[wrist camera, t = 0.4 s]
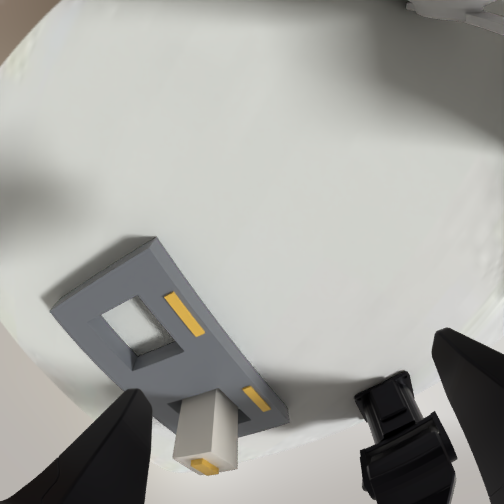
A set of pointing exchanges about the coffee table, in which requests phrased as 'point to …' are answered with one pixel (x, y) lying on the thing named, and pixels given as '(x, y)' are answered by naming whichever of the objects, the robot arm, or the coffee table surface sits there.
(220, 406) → the plug
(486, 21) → the headphones
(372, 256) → the coffee table surface
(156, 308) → the panel
